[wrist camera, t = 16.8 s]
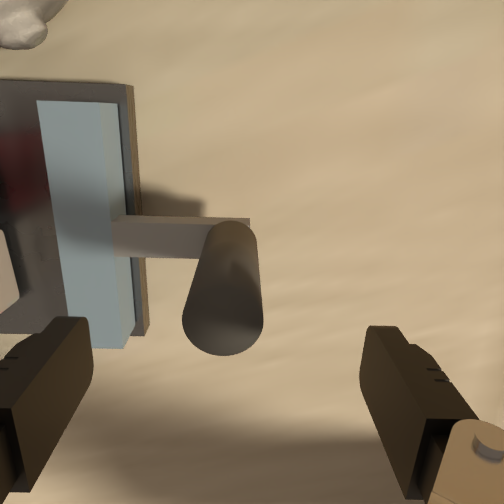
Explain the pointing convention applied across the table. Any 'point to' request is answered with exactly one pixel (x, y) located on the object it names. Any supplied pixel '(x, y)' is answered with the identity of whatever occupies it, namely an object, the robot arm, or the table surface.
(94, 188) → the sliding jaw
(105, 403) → the table surface
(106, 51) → the table surface
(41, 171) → the vise
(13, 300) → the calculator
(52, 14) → the dish
